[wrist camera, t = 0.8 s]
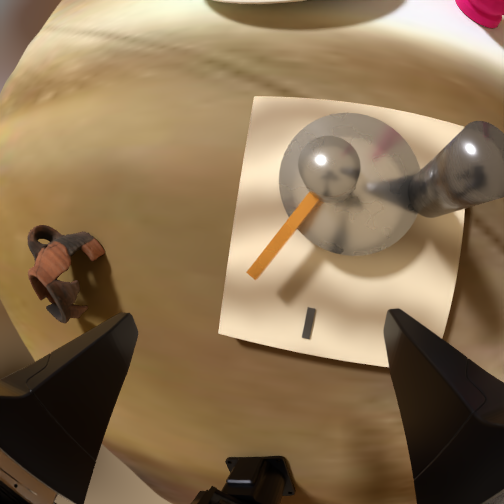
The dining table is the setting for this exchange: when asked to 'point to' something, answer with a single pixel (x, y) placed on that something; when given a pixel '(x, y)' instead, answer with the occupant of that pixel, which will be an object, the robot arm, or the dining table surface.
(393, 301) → the stand
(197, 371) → the dining table surface
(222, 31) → the dining table surface
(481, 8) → the pepper mill
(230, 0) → the dinner plate
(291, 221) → the shiny grey rounded pieces
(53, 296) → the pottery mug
